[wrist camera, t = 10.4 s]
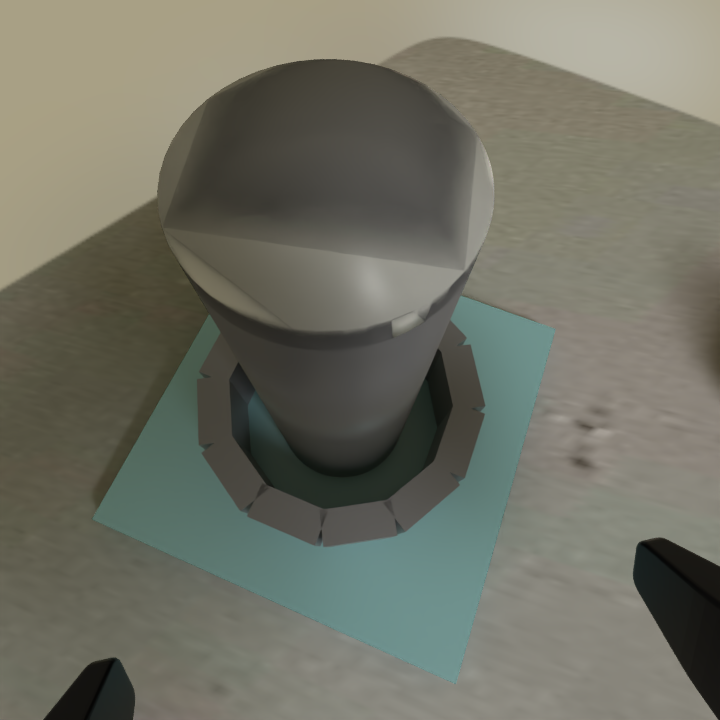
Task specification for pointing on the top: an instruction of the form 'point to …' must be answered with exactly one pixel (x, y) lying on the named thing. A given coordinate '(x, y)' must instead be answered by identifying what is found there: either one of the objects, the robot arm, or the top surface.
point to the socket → (344, 491)
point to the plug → (329, 242)
